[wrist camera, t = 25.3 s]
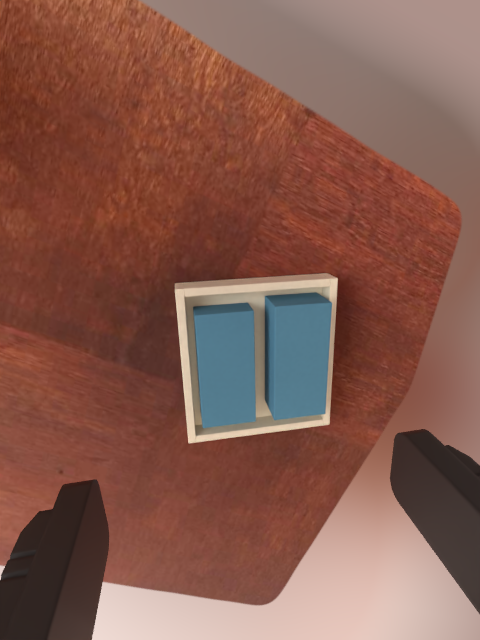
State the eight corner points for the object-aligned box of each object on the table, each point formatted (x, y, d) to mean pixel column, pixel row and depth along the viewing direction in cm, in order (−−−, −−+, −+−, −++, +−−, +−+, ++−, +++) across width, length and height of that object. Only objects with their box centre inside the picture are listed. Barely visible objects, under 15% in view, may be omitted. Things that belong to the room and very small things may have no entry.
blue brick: (247, 302, 36) (254, 310, 34) (250, 406, 40) (256, 421, 37) (192, 306, 36) (194, 315, 33) (200, 412, 39) (202, 428, 37)
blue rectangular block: (316, 291, 37) (332, 302, 34) (311, 394, 41) (325, 414, 37) (264, 295, 37) (274, 306, 33) (264, 400, 40) (274, 420, 37)
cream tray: (327, 272, 38) (338, 278, 35) (320, 412, 43) (329, 424, 40) (174, 283, 35) (174, 289, 33) (187, 428, 40) (188, 443, 38)
